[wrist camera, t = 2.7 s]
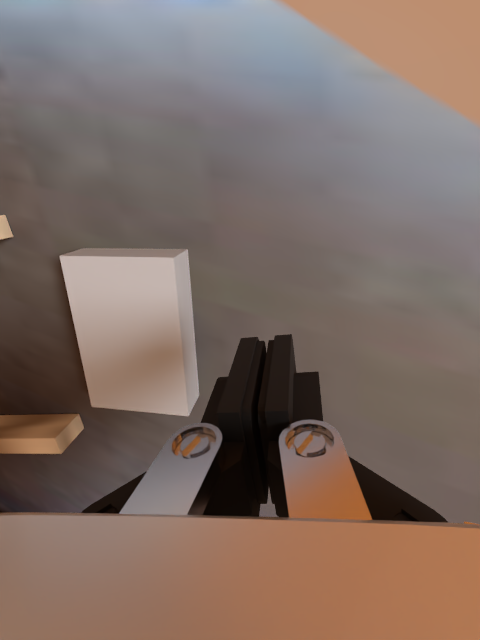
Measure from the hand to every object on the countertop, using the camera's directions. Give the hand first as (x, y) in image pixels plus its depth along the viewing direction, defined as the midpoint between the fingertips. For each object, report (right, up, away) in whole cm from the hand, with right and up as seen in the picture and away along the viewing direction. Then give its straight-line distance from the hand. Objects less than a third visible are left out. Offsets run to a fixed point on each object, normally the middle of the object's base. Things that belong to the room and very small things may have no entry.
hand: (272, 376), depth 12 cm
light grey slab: (-7, +2, +9) cm, 12 cm away
